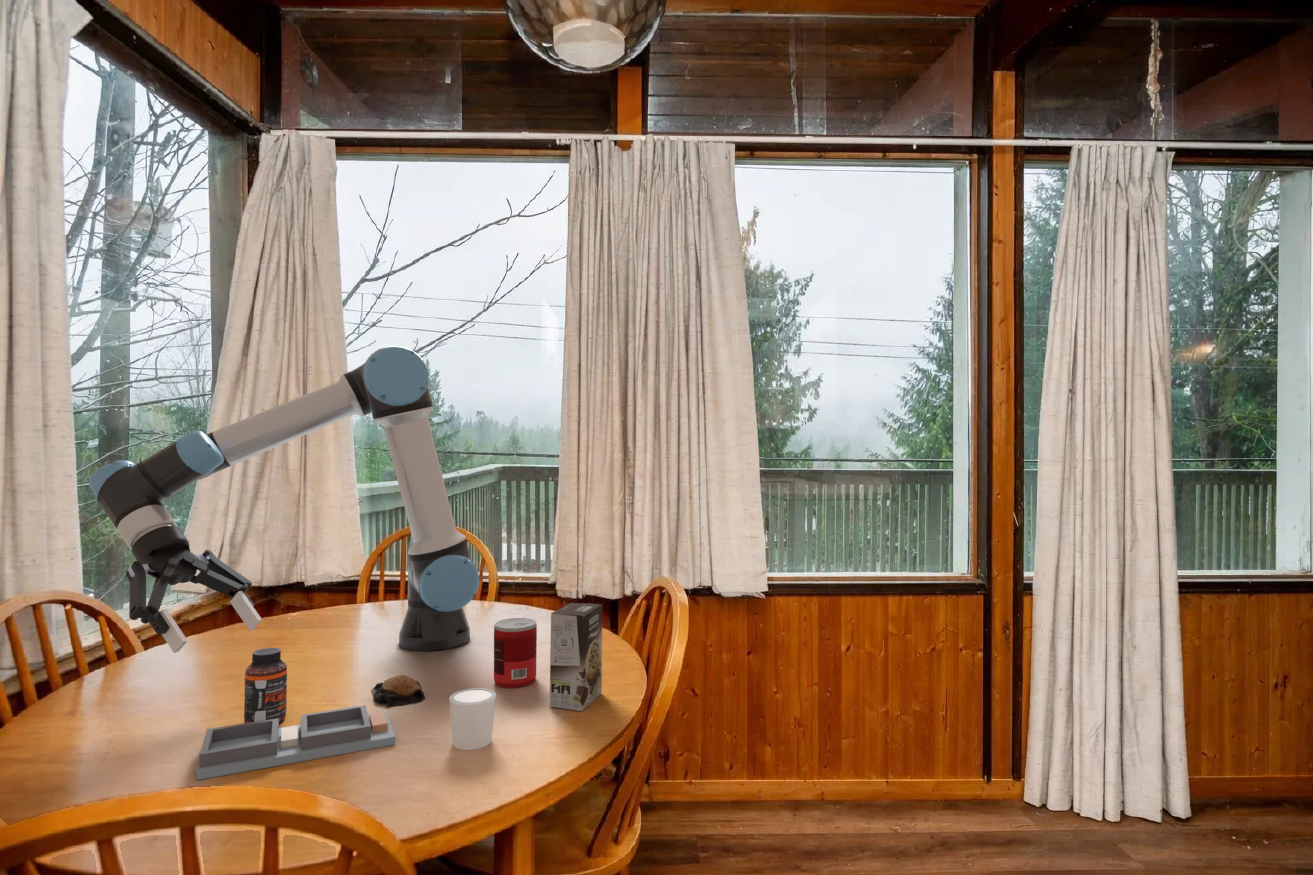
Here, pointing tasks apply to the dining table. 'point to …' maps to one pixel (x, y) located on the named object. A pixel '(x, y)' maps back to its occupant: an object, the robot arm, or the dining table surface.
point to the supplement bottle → (265, 686)
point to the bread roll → (398, 692)
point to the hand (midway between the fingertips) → (220, 635)
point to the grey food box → (576, 656)
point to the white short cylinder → (472, 718)
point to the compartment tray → (292, 740)
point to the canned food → (515, 652)
